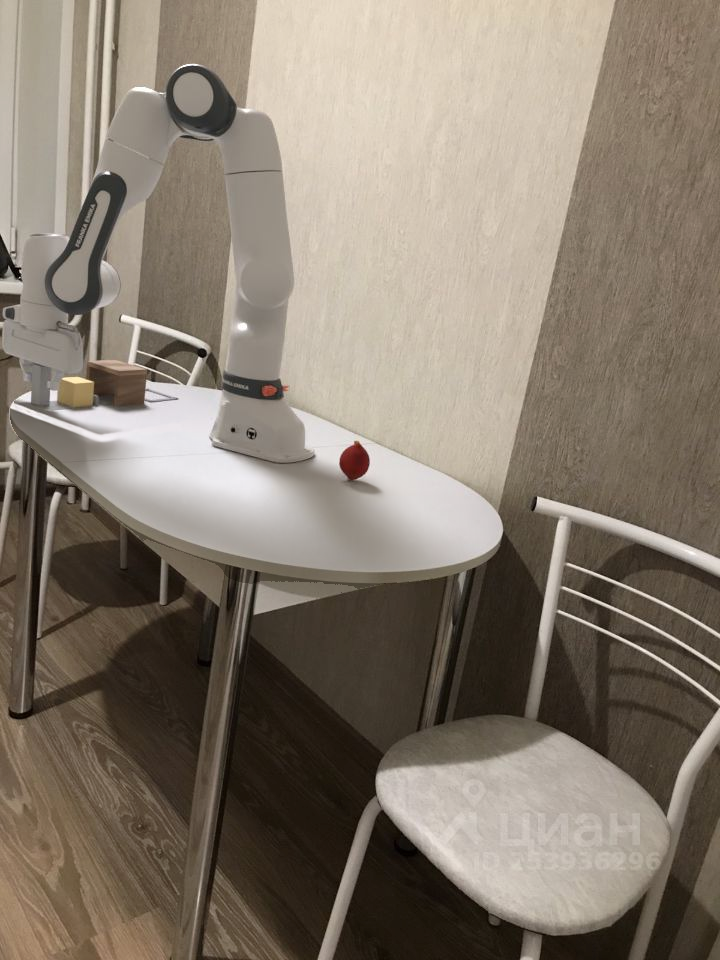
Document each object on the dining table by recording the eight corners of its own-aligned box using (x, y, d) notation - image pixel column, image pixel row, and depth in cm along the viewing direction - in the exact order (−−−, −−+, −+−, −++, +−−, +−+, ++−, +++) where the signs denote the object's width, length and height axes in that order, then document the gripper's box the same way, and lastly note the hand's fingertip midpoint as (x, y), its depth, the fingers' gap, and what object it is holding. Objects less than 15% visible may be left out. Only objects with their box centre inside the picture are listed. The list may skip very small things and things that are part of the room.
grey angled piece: (110, 408, 161) (113, 367, 159) (51, 415, 148) (53, 371, 146) (90, 401, 164) (93, 361, 161) (30, 407, 151) (32, 364, 148)
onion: (359, 476, 146) (366, 437, 144) (370, 486, 141) (378, 446, 139) (332, 474, 144) (339, 435, 141) (342, 484, 139) (349, 444, 136)
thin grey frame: (177, 404, 177) (178, 398, 176) (150, 407, 169) (150, 401, 169) (147, 394, 181) (147, 388, 181) (119, 397, 173) (119, 391, 173)
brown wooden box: (143, 408, 167) (147, 369, 165) (116, 411, 161) (119, 371, 158) (112, 398, 172) (115, 359, 169) (84, 400, 165) (87, 361, 162)
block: (92, 405, 157) (94, 382, 156) (73, 407, 153) (74, 383, 152) (76, 399, 160) (77, 376, 158) (56, 401, 155) (58, 378, 154)
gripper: (93, 327, 144) (88, 396, 148) (24, 308, 153) (22, 373, 157) (66, 327, 139) (62, 399, 143) (-3, 307, 148) (-5, 375, 152)
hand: (40, 385), depth 150 cm, fingers open, 6 cm apart
